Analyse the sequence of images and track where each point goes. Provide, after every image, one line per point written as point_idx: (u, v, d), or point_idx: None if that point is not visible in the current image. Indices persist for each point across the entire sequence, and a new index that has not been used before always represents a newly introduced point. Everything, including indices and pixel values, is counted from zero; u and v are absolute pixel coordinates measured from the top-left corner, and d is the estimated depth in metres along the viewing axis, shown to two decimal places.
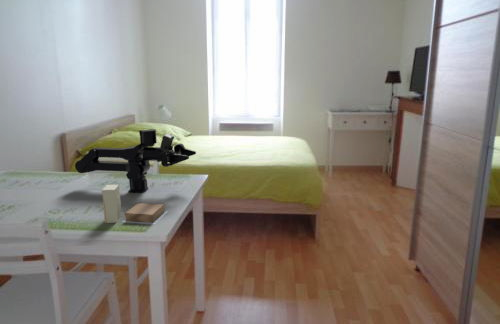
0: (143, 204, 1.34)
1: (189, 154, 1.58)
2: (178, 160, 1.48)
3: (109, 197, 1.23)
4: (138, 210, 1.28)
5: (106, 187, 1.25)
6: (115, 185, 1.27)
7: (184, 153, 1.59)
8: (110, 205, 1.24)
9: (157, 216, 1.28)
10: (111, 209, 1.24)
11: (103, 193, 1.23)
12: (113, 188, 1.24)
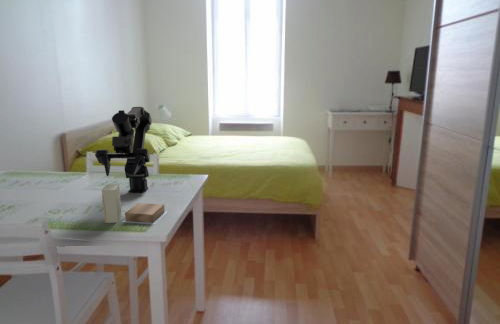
0: (143, 204, 1.34)
1: None
2: None
3: (109, 197, 1.23)
4: (138, 210, 1.28)
5: (106, 187, 1.25)
6: (115, 185, 1.27)
7: None
8: (110, 205, 1.24)
9: (157, 216, 1.28)
10: (111, 209, 1.24)
11: (103, 193, 1.23)
12: (113, 188, 1.24)
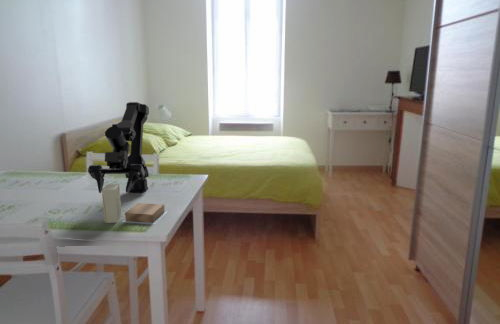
0: (143, 204, 1.34)
1: None
2: None
3: (109, 197, 1.23)
4: (138, 210, 1.28)
5: (106, 187, 1.25)
6: (115, 185, 1.27)
7: None
8: (110, 205, 1.24)
9: (157, 216, 1.28)
10: (111, 209, 1.24)
11: (103, 193, 1.23)
12: (113, 188, 1.24)
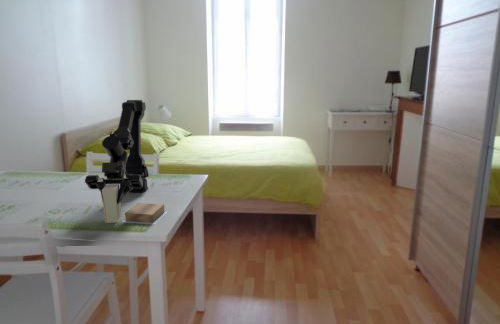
0: (143, 204, 1.34)
1: None
2: None
3: (109, 197, 1.23)
4: (138, 210, 1.28)
5: (106, 187, 1.25)
6: (115, 185, 1.27)
7: None
8: (110, 205, 1.24)
9: (157, 216, 1.28)
10: (111, 209, 1.24)
11: (103, 193, 1.23)
12: (113, 188, 1.24)
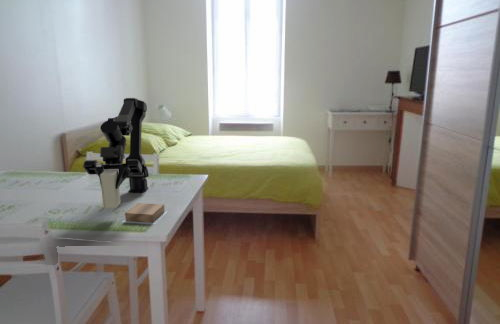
0: (143, 204, 1.34)
1: None
2: None
3: (107, 182, 1.22)
4: (138, 210, 1.28)
5: (105, 172, 1.24)
6: (114, 170, 1.26)
7: None
8: (108, 190, 1.23)
9: (157, 216, 1.28)
10: (110, 194, 1.23)
11: (101, 178, 1.22)
12: (112, 173, 1.23)
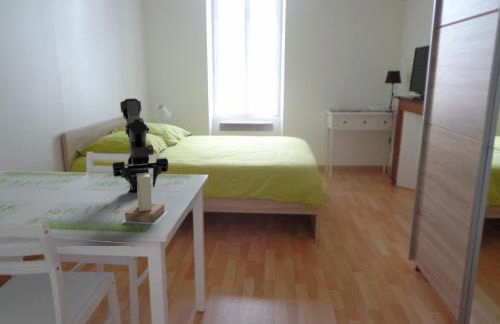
0: None
1: None
2: (128, 181, 1.28)
3: (145, 184, 1.25)
4: (138, 210, 1.28)
5: (140, 175, 1.26)
6: (146, 173, 1.29)
7: None
8: (145, 192, 1.26)
9: (157, 216, 1.28)
10: (146, 196, 1.26)
11: (139, 181, 1.24)
12: (147, 175, 1.26)
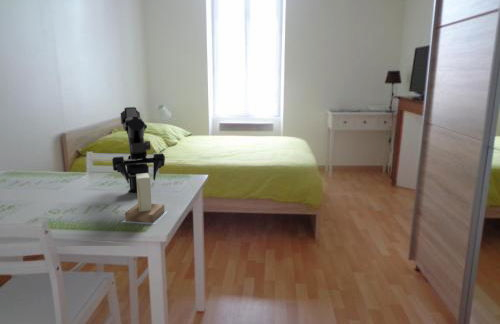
0: None
1: None
2: (123, 175, 1.36)
3: (144, 185, 1.25)
4: (138, 210, 1.28)
5: (140, 176, 1.26)
6: (145, 174, 1.29)
7: (153, 168, 1.39)
8: (145, 193, 1.26)
9: (157, 216, 1.28)
10: (146, 197, 1.26)
11: (138, 181, 1.24)
12: (147, 176, 1.26)
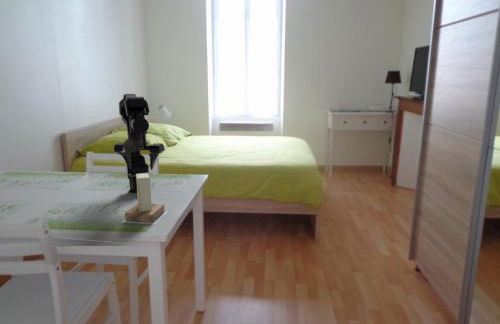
0: None
1: None
2: None
3: (144, 185, 1.25)
4: (138, 210, 1.28)
5: (140, 176, 1.26)
6: (145, 174, 1.29)
7: None
8: (145, 193, 1.26)
9: (157, 216, 1.28)
10: (146, 197, 1.26)
11: (138, 181, 1.24)
12: (147, 176, 1.26)
